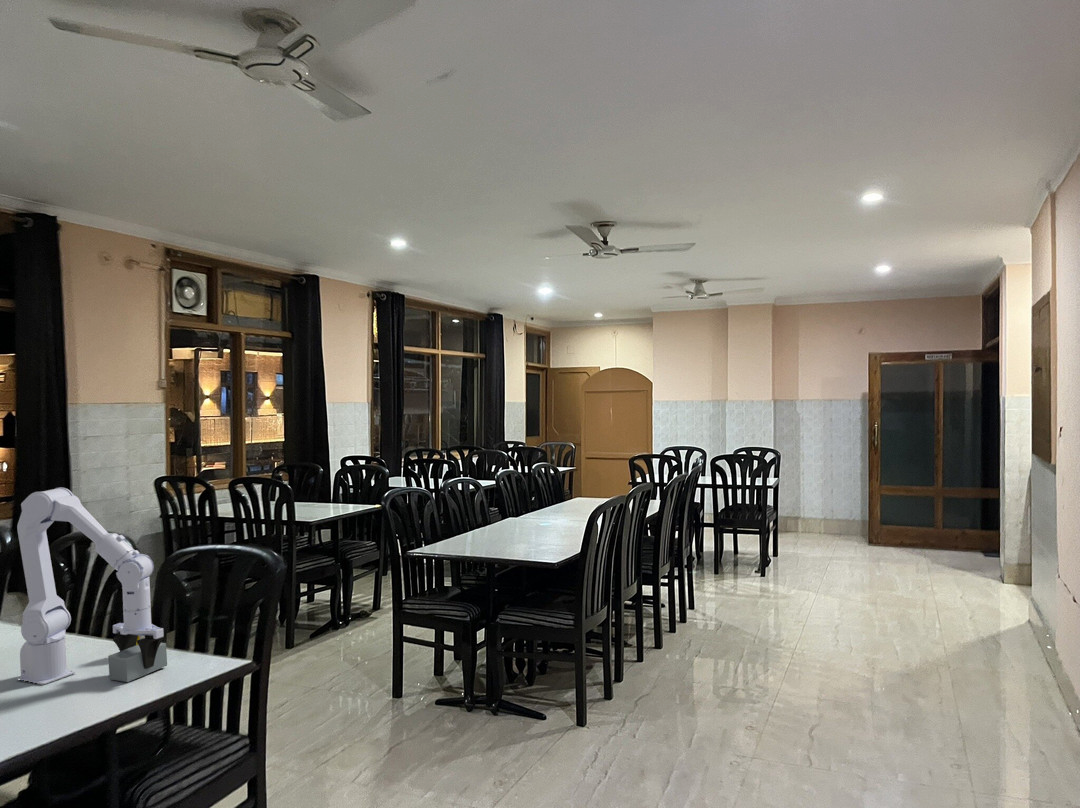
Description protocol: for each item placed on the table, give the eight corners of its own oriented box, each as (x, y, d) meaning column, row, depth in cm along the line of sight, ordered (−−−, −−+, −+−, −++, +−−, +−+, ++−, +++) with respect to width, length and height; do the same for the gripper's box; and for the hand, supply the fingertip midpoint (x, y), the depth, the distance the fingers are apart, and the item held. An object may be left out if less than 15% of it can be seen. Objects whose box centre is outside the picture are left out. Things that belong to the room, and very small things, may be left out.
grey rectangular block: (109, 679, 177) (108, 655, 177) (149, 662, 187) (148, 640, 186) (127, 682, 174) (126, 658, 174) (167, 665, 184) (166, 643, 184)
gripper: (100, 610, 180) (102, 667, 180) (143, 615, 174) (146, 675, 174) (127, 602, 186) (129, 658, 186) (170, 607, 180) (172, 664, 181)
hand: (139, 665), depth 181 cm, fingers closed on grey rectangular block, 6 cm apart
